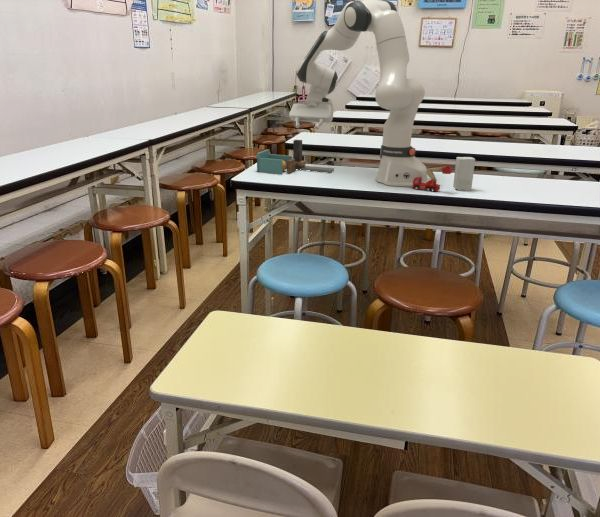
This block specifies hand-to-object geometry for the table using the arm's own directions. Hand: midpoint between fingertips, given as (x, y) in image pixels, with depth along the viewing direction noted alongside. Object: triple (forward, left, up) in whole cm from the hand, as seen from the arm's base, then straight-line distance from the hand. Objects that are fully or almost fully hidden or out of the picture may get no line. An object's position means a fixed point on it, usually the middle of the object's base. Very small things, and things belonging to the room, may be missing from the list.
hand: (307, 127), depth 229 cm
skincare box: (-71, +20, -17) cm, 76 cm away
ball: (+5, +19, -14) cm, 24 cm away
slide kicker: (0, +16, -16) cm, 23 cm away
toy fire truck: (-60, +27, -17) cm, 68 cm away
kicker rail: (-8, +11, -17) cm, 21 cm away
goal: (+8, +19, -17) cm, 27 cm away
